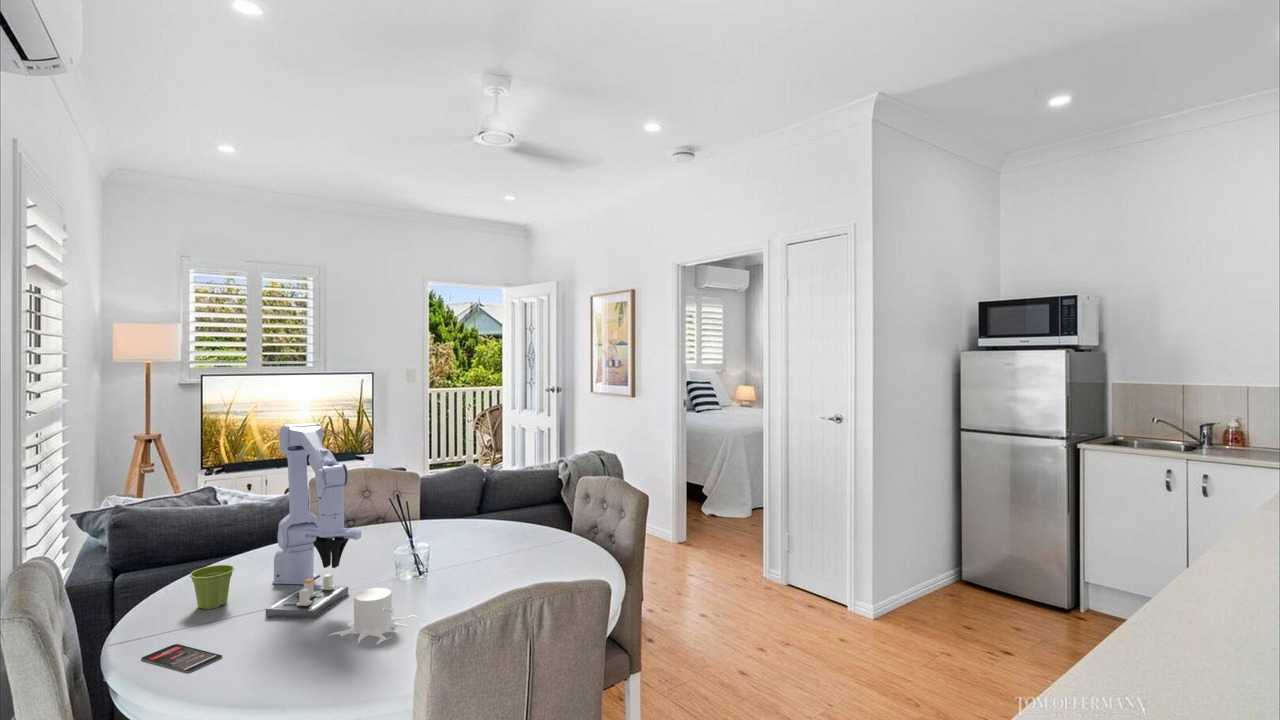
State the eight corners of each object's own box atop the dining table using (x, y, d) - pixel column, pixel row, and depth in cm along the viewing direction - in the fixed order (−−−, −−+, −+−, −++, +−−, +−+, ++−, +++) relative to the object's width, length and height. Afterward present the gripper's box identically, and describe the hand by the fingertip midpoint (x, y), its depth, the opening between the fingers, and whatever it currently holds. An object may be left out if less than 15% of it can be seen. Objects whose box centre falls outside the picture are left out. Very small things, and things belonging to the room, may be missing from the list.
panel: (265, 617, 154) (265, 608, 154) (304, 592, 170) (304, 584, 170) (313, 618, 153) (313, 610, 153) (348, 593, 169) (348, 586, 169)
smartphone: (175, 643, 139) (224, 655, 133) (175, 646, 139) (224, 659, 133) (139, 658, 132) (188, 671, 127) (139, 661, 132) (188, 675, 127)
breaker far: (320, 589, 165) (320, 576, 165) (324, 586, 168) (325, 573, 167) (330, 590, 165) (330, 576, 165) (335, 586, 167) (335, 574, 167)
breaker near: (296, 605, 155) (296, 591, 155) (301, 601, 157) (301, 588, 157) (307, 605, 155) (307, 591, 155) (312, 602, 157) (312, 588, 157)
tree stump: (360, 655, 136) (361, 618, 135) (310, 633, 146) (310, 598, 146) (437, 623, 152) (437, 589, 152) (386, 604, 163) (386, 573, 163)
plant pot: (186, 615, 154) (186, 579, 154) (192, 601, 163) (192, 567, 163) (232, 608, 159) (232, 573, 159) (236, 595, 167) (236, 562, 167)
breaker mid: (300, 596, 160) (301, 581, 160) (306, 593, 162) (306, 578, 162) (311, 597, 160) (311, 581, 160) (316, 594, 162) (316, 578, 162)
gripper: (294, 516, 157) (293, 571, 157) (351, 517, 156) (350, 572, 156) (310, 509, 164) (310, 561, 164) (365, 510, 163) (365, 563, 163)
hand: (331, 566), depth 161 cm, fingers closed
